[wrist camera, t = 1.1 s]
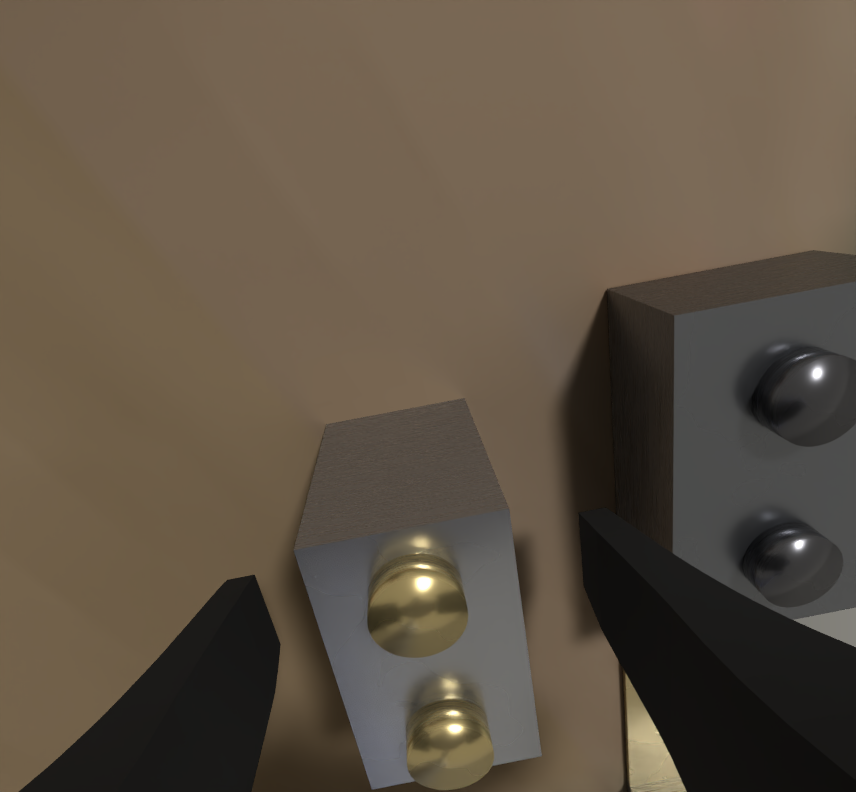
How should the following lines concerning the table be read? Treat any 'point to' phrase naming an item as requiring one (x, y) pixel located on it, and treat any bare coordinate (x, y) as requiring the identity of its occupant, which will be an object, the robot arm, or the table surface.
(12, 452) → the table surface
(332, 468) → the block with brass knobs
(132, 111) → the table surface
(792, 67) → the table surface
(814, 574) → the studded link strip
